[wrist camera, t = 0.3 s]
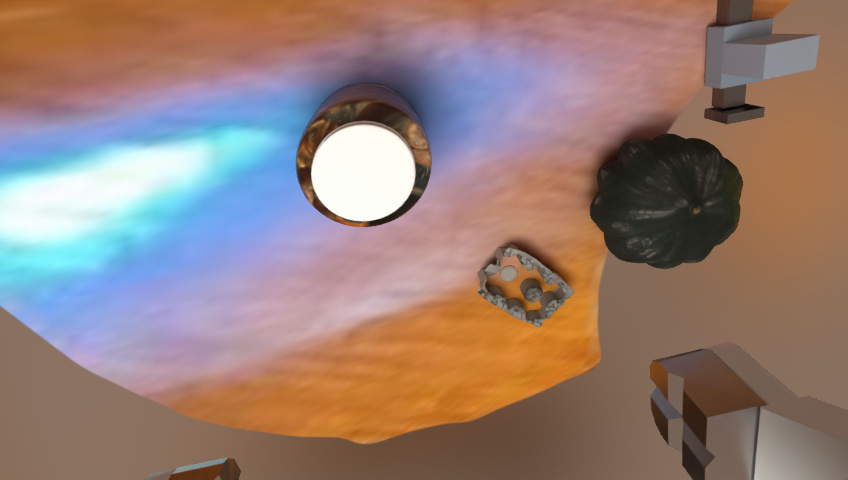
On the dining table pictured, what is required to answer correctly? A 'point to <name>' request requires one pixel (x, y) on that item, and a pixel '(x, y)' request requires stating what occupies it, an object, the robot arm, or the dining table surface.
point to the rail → (731, 100)
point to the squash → (667, 201)
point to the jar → (364, 156)
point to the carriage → (755, 53)
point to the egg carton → (524, 287)
